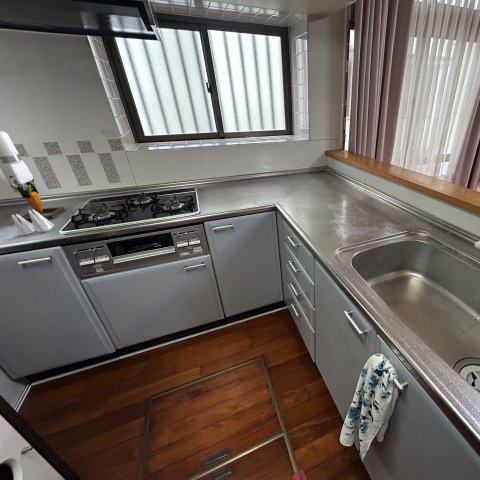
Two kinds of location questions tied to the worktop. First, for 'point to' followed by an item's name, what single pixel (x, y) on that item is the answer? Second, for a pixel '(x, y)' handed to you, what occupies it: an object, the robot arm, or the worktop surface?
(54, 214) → the frame
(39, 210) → the carrot
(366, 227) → the worktop surface
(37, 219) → the shaker set
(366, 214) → the worktop surface
